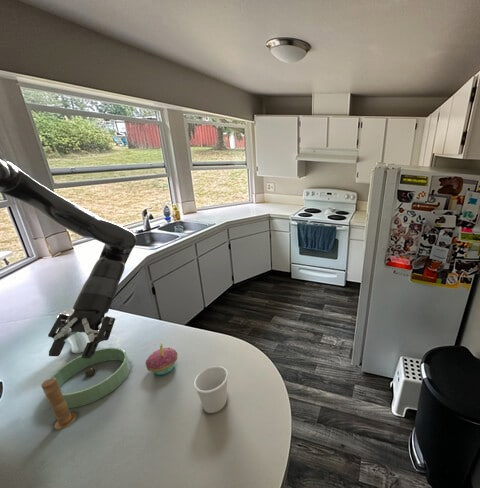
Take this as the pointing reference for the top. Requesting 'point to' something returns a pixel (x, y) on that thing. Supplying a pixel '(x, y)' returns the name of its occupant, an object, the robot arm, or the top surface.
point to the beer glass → (76, 337)
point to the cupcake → (161, 360)
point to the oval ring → (98, 389)
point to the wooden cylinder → (57, 403)
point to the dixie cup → (212, 388)
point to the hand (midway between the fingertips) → (69, 357)
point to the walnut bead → (90, 372)
